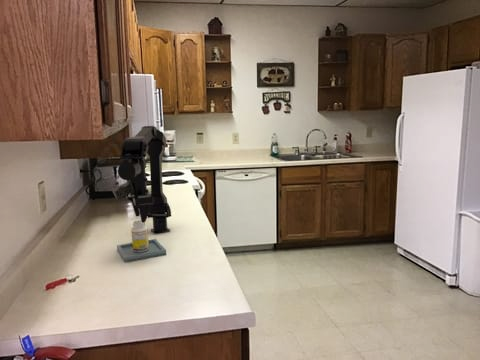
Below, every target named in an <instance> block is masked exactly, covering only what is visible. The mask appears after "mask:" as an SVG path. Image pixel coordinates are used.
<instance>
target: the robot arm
mask: <svg viewBox="0 0 480 360" xmlns="http://www.w3.org/2000/svg"><path fill="white" fill-rule="evenodd" d="M123 140H124V141H123V142H122V145H121V151H120V157H119V158H120V159H119V160H120V161H122V163H121V164H119V166H118V168H117V174H118V176H119V177H120V179H122V180H124V181H126V182H125V183H122V184H120V185H118V186H116V187H113V188H112V189H111V191H112V193H113V195H114V197H115V199H116V200H120V199H122V198H123V197H126V199H127V200H128V201H130V203H131V205H132V208H133V211H134V213H135V217H140V221H142V223H143V222H145V223H146V221H147V218H148V219H150V218H152V228H151V229H150V231H151V232H152V233H153V234H154V235H155V234H156V235H157V234H160V233H161V234H163V233H167V232H168V233H169V232H171V230H170V229H169V228H168V221H167V220H168V219H169V218H170V217H172V210H171V206H170V205H169V202H168V198H167V196H166V194H164V191H163V190H164V189H163V170H162V169H163V168H162V167H163V166H162V156H163V154H164V153H165V151H166V146H167V138H166V136H165V133H164V132H163V131H161V130H159V129H157V126H154V125H145V126H142V127H141V129H140V130H139V132H138V133H136V135H134V136H130V137H127V138H125V139H123ZM147 156H149V173H150V175H149V177H150V193H149V189H148V188H147V182H148V181H149V180H148V177H147V174H146V162H145V160H146V158H147Z"/></svg>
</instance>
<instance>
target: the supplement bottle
mask: <svg viewBox="0 0 480 360" xmlns="http://www.w3.org/2000/svg"><path fill="white" fill-rule="evenodd" d="M132 226H133V227H131V230H130V231H131V240H132V242H131V243H133V250H134V251H135V252H145V251H147V250H148V249H149V240H150V239H149V229H148V226H146V222H143V223H142V221H141V220H135V221H133V222H132Z"/></svg>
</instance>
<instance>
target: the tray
mask: <svg viewBox="0 0 480 360" xmlns="http://www.w3.org/2000/svg"><path fill="white" fill-rule="evenodd" d="M148 240H149V249H148V250H147V251H145V252H135V251H134V250H133V243H132V242H129V243H124V244H123V243H122V244H118V245H116V251H117V252H118V254H119V256H120V258H121V259H122V260H123V263H130V262H137V261H141V260H146V259H147V260H148V259H151V258H157V257H162V256H166V255H167V249H166V248H165V247H164V246H163V245H162V244H161V243H160V241H158V240H157V239H156V238H153V239H148Z"/></svg>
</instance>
